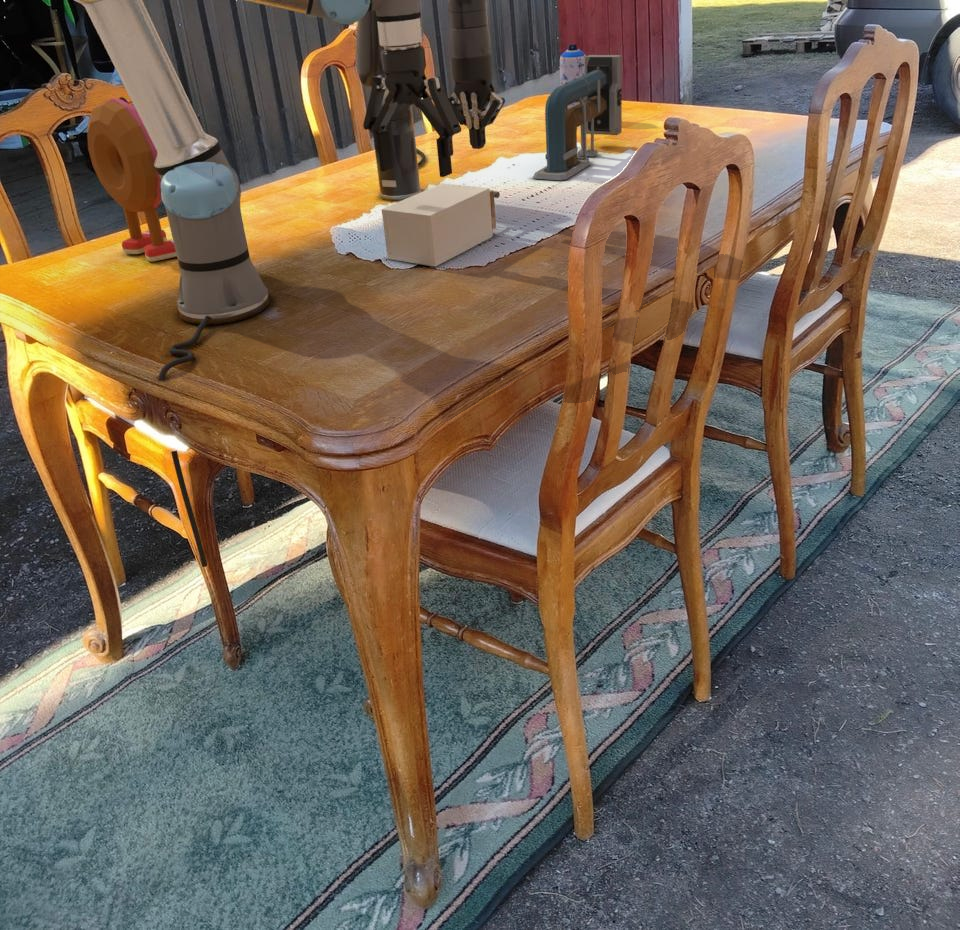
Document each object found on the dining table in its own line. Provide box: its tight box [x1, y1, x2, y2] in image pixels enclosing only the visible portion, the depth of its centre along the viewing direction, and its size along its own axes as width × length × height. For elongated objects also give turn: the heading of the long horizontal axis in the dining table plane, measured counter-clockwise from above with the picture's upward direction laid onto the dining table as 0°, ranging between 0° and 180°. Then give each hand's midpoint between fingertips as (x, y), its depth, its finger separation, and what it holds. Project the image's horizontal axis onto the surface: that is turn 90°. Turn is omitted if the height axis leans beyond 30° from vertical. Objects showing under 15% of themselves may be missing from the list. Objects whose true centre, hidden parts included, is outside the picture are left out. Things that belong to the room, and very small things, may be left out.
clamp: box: [532, 54, 623, 181], centre depth 230 cm, size 35×9×21 cm, turn 151°
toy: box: [86, 96, 177, 263], centre depth 189 cm, size 21×10×30 cm, turn 47°
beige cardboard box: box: [381, 182, 494, 268], centre depth 184 cm, size 19×11×10 cm, turn 145°
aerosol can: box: [559, 43, 587, 109], centre depth 273 cm, size 8×8×20 cm
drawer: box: [490, 189, 501, 230], centre depth 188 cm, size 23×10×7 cm, turn 145°
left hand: (415, 172), depth 176 cm, fingers open, 13 cm apart
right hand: (478, 147), depth 188 cm, fingers closed
